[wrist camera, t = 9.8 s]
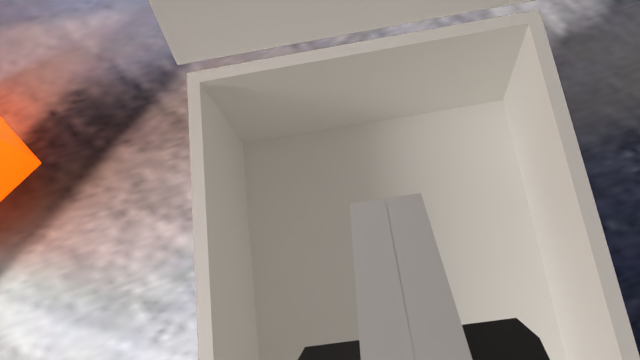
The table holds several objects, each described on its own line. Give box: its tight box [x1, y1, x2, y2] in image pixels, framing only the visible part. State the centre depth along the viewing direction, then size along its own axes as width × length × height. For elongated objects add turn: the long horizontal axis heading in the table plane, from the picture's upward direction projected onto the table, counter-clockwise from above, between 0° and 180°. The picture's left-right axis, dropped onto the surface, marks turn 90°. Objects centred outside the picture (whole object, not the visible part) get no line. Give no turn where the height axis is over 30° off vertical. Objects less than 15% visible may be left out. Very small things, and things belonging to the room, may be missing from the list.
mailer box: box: [187, 9, 640, 360], centre depth 26 cm, size 20×16×8 cm
